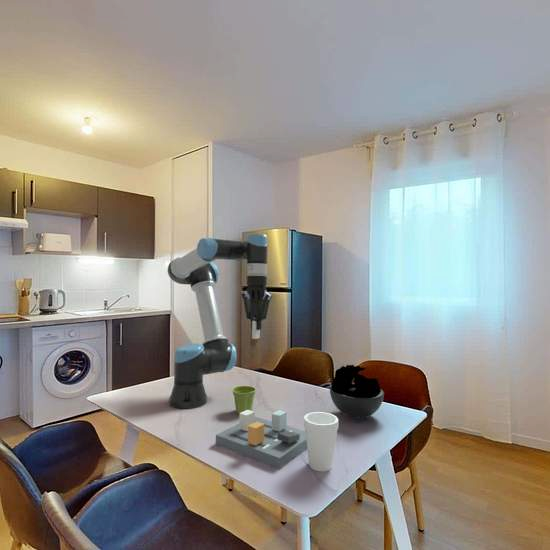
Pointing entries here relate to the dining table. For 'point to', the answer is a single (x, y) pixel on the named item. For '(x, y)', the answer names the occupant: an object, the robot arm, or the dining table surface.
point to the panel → (263, 444)
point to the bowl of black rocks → (355, 392)
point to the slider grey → (279, 420)
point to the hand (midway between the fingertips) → (255, 338)
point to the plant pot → (243, 398)
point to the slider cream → (246, 419)
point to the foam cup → (320, 439)
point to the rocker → (288, 436)
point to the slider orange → (256, 433)
